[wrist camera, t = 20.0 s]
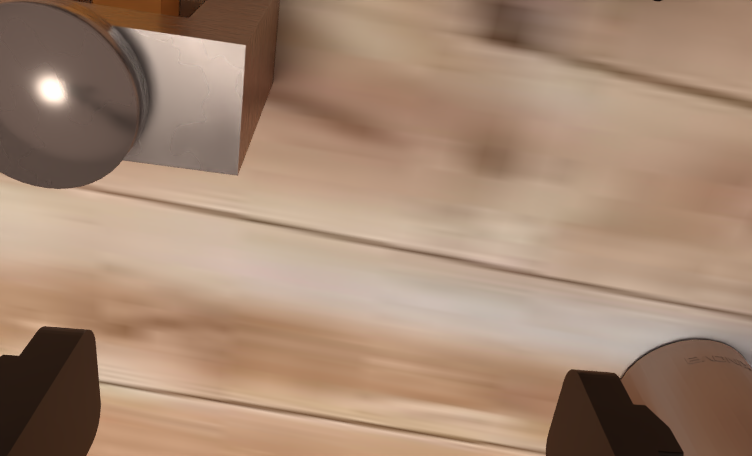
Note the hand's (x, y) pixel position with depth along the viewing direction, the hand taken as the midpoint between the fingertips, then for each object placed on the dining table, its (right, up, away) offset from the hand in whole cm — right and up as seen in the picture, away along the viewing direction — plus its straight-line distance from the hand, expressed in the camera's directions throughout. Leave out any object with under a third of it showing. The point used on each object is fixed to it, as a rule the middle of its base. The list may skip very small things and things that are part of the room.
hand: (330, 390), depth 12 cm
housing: (-11, +13, +23) cm, 28 cm away
